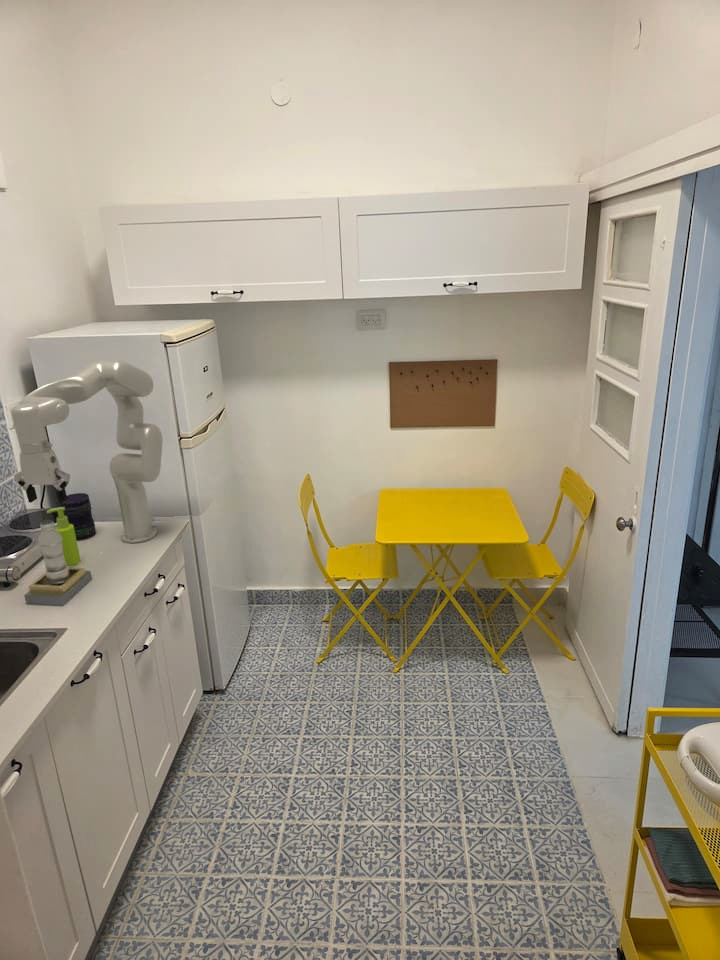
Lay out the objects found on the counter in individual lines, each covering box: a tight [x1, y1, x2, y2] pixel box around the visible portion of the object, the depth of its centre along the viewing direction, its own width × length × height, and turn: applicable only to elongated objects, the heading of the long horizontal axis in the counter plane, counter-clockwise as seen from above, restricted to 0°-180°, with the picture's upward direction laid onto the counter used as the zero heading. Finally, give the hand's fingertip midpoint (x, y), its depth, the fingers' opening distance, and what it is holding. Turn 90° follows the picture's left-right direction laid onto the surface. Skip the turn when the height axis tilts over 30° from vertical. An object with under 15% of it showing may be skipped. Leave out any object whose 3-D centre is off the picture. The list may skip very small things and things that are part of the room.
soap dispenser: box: [46, 506, 81, 568], centre depth 208 cm, size 6×7×20 cm
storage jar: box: [60, 492, 97, 542], centre depth 229 cm, size 10×10×15 cm
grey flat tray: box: [23, 567, 93, 607], centre depth 192 cm, size 16×12×5 cm
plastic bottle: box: [37, 520, 70, 585], centre depth 189 cm, size 6×7×20 cm
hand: (48, 501), depth 186 cm, fingers open, 9 cm apart
